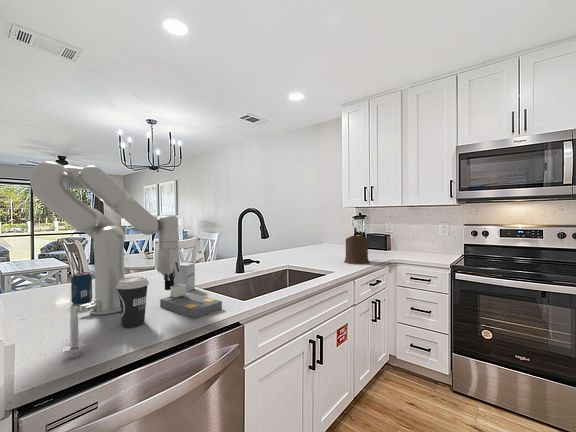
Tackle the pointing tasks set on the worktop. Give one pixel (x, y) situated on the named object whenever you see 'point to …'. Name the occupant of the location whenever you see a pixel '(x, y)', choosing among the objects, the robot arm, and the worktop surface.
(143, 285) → the coffee cup
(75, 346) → the screw
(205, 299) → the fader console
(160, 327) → the worktop surface
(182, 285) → the fader knob
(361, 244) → the dark brown bell
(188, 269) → the supplement box
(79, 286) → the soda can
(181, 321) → the worktop surface
